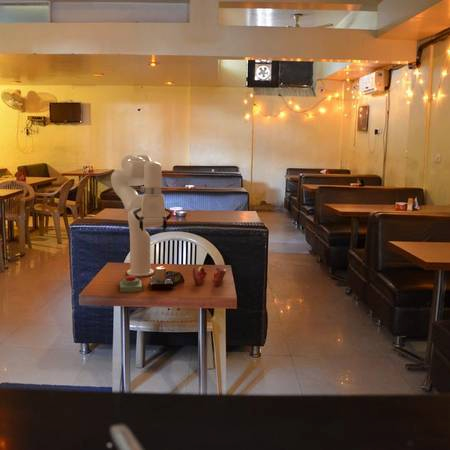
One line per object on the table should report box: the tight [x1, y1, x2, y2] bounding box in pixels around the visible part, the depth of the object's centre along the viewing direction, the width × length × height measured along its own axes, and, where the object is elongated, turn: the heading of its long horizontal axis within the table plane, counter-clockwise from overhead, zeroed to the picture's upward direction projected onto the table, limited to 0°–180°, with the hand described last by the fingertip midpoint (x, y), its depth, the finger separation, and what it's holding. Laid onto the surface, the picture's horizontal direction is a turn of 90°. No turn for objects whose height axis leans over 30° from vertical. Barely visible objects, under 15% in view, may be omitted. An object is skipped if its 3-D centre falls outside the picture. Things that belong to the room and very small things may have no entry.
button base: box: [119, 277, 143, 293], centre depth 221 cm, size 10×9×4 cm
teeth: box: [192, 266, 227, 287], centre depth 232 cm, size 10×8×15 cm
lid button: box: [125, 275, 136, 281], centre depth 221 cm, size 4×4×2 cm
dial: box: [155, 266, 167, 281], centre depth 224 cm, size 4×4×6 cm
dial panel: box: [149, 276, 173, 292], centre depth 225 cm, size 11×9×3 cm
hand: (153, 230), depth 225 cm, fingers open, 9 cm apart
